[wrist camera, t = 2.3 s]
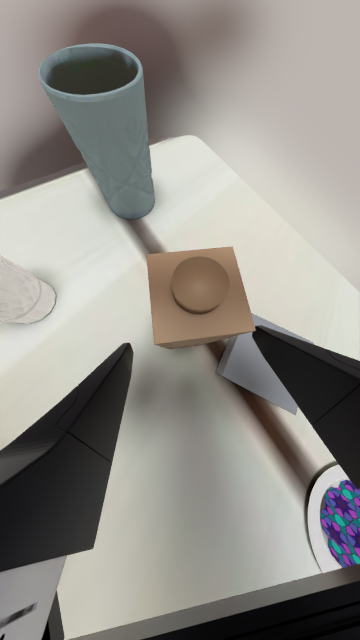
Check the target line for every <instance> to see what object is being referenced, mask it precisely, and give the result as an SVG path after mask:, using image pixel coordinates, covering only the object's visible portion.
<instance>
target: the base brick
mask: <svg viewBox="0 0 360 640" xmlns="http://www.w3.org/2000/svg"><path fill="white" fill-rule="evenodd" d="M251 315H252V318H253V322H254V326H257V325H262V326H265V327H268V328H270V329H273V330H276V331H278V332H281V333H284V334H287V335H289V336H292V337H295V338H297V339H300V340H303V341H306V342H308V343H311V344H313V342H311V341H309V340H307V339H305V338H302V337H300V336H298V335H296V334H294V333H292V332H290V331H288V330H286V329H284V328H282V327H279V326H277V325H275V324H273V323H271V322H269V321H267V320H265V319H263V318H261V317H258V316H256V315H254V314H252V313H251ZM252 333H253V332H249V333H245V334H241V335H237V336H233V337H230V339H229V341H228V344H227V346H226V349H225V351H224V353H223V356H222V358H221V361H220V363H219V365H218V368H217V370H216V373H217V374H219V375H221V376H223V377H225V378H227V379H229V380H231V381H232V382H234V383H236V384H238V385H240V386H242V387H244V388H246V389H247V390H249V391H251V392H253V393H255V394H257V395H259V396H261V397H262V398H264V399H266V400H268V401H270V402H272V403H274V404H275V405H277V406H279V407H281V408H283V409H285V410H287V411H289V412H290V413H292V414H294V415H296V412H297V408H298V405H297V404H296V402H295V401H294V400H293V398H292V397H291V395H290V394H289V393H288V391H287V390H286V388H285V387H284V385H283V384H282V383H281V381H280V380H279V378H278V377H277V375H276V374H275V373H274V371H273V370H272V368H271V367H270V366H269V364H268V363H267V361H266V360H265V358H264V357H263V355H262V354H261V352H260V350H259V349H258V347H257V345H256V343H255V341H254V340H253V338H252Z"/></svg>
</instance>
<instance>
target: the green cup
mask: <svg viewBox="0 0 360 640" xmlns="http://www.w3.org/2000/svg"><path fill="white" fill-rule="evenodd" d="M38 74H39V78H40V82H41V85H42V86H43V88H44V90H45V91H46V93H47V95H48V96H49V98H50V100H51V102H52V104H53V105H54V107H55V109H56V111H57V113H58V114H59V116H60V117H61V120H62V121H63V123H64V125H65V126H66V128H67V130H68V132H69V134H70V135H71V137H72V139H73V141H74V142H75V145H76V146H77V148H78V149H79V150H80V151H81V154H82V157H83V158H84V160H85V162H86V164H87V166H88V168H89V170H90V171H91V173H92V175H93V177H94V178H95V180H97V182H98V185H99V187H100V189H101V191H102V193H103V195H104V197H105V198H106V200H107V202H108V204H109V206H110V208H111V209H112V211H113V212H114V213H115V214H116V215H118V216H120V217H122V218H126V219H137V218H141V217H143V216H145V215H147V214H148V213H149V212H150V211H151V210H152V208H153V206H154V201H155V198H154V189H153V181H152V178H151V172H152V169H151V160H150V149H149V145H148V128H147V116H146V106H145V94H144V82H143V69H142V66H141V63H140V61H139V59H138V58H137V57H136V56H135V55H134V54H132V53H131V52H129V51H127V50H126V49H123V48H120V47H117V46H113V45H109V44H83V45H75V46H71V47H67V48H64V49H62V50H60V51H58V52H55V53H53V54H52V55H51V56H49V57H48V58H46V59H45V61H43V62H42V64H41V66H40V68H39V72H38Z"/></svg>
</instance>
